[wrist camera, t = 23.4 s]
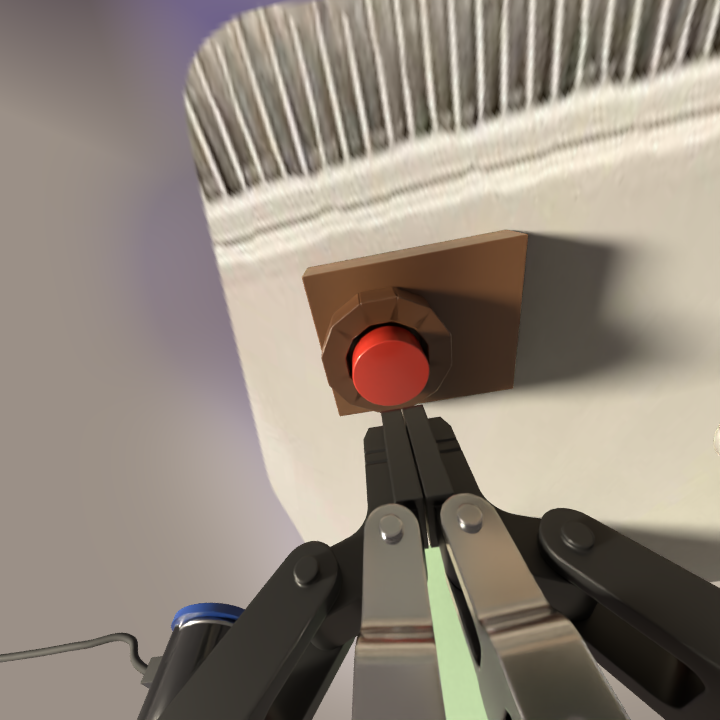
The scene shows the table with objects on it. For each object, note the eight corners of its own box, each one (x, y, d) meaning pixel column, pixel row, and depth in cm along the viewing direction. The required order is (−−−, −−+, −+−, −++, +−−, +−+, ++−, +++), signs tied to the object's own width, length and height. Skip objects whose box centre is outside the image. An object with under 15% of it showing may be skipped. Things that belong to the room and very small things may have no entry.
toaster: (428, 590, 35) (475, 827, 22) (391, 560, 31) (421, 822, 18) (533, 554, 32) (664, 806, 19) (506, 515, 28) (644, 794, 15)
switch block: (340, 396, 21) (338, 436, 17) (307, 267, 16) (295, 286, 13) (497, 370, 20) (529, 407, 16) (506, 229, 16) (552, 238, 12)
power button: (358, 391, 16) (360, 411, 15) (345, 332, 14) (345, 348, 13) (424, 380, 16) (432, 400, 14) (419, 319, 14) (427, 334, 13)
